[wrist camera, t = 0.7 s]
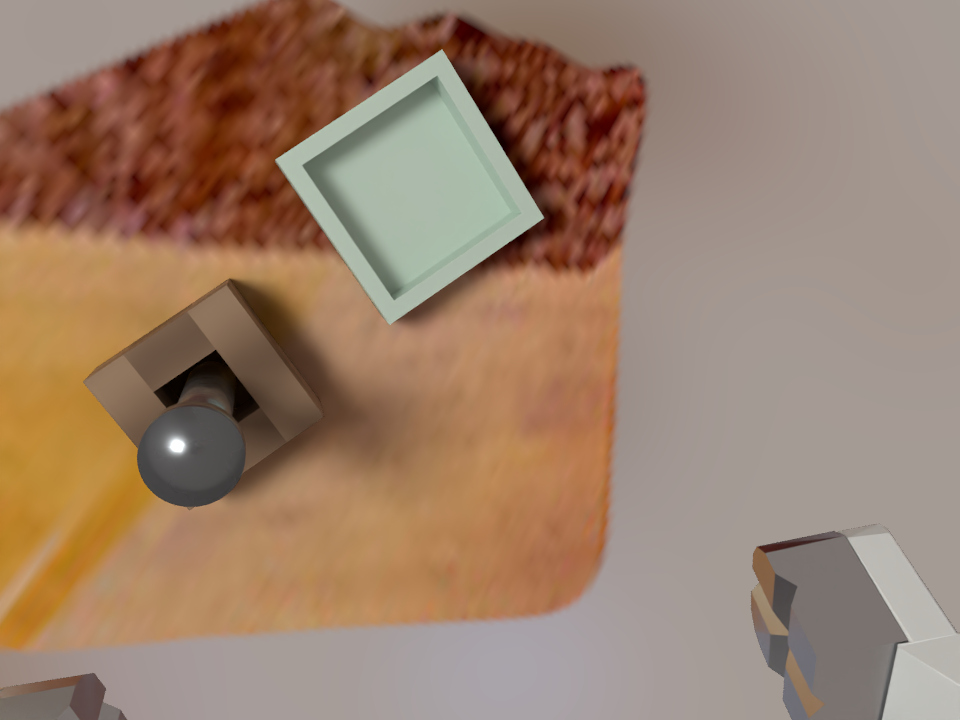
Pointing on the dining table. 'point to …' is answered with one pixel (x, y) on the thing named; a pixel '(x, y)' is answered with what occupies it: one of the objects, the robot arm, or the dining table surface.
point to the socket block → (189, 338)
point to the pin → (195, 441)
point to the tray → (411, 187)
